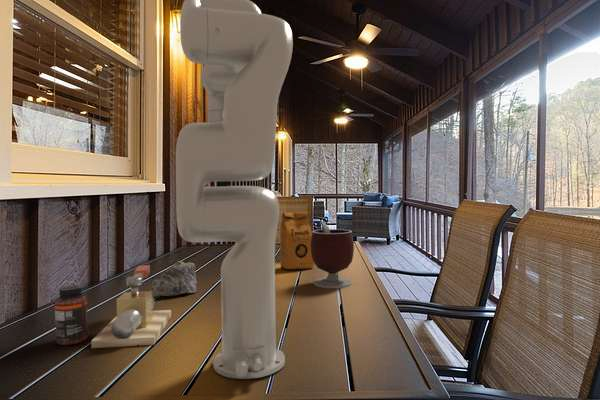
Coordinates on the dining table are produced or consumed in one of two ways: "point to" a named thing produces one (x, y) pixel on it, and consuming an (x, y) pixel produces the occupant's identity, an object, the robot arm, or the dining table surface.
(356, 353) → the dining table surface
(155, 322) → the board
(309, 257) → the coffee package
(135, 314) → the valve body
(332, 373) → the dining table surface
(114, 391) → the dining table surface
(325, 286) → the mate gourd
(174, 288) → the mineral rock
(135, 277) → the lever
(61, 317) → the supplement bottle
